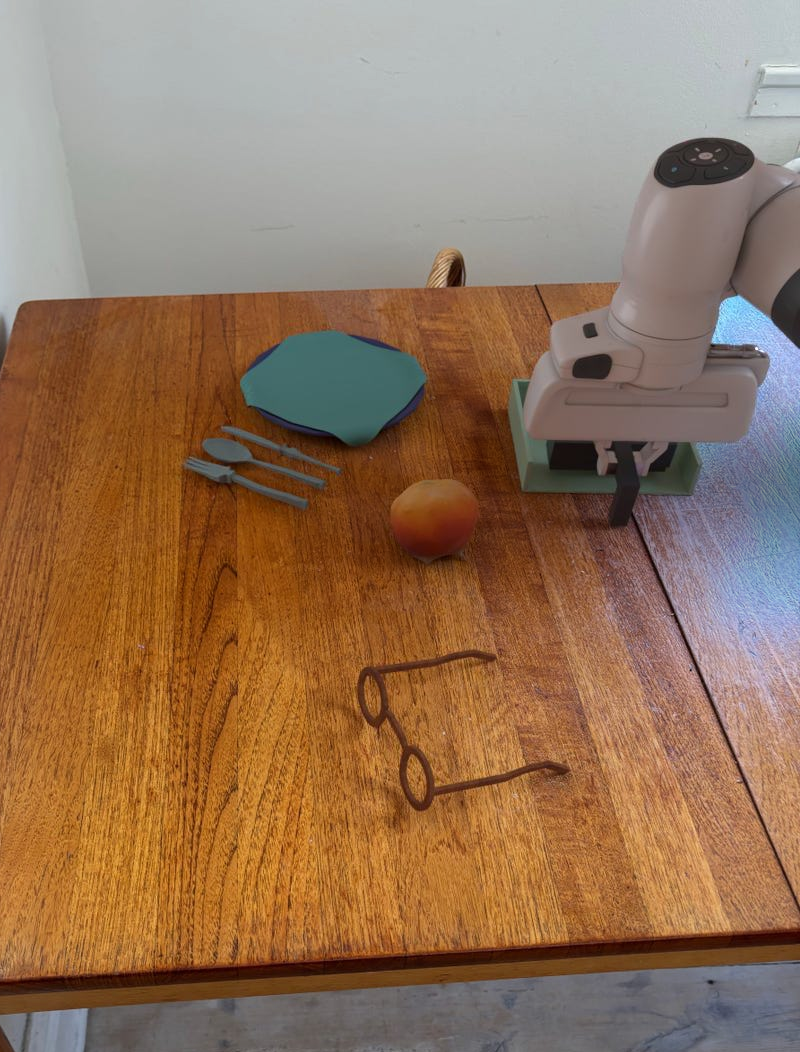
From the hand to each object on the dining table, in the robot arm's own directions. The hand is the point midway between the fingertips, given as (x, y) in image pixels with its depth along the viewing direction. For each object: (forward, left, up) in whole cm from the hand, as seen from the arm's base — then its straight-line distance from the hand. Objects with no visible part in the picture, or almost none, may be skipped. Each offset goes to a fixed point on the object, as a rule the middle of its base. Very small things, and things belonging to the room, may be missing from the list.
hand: (620, 472), depth 100 cm
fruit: (+18, +6, -4) cm, 20 cm away
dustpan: (0, -14, -4) cm, 14 cm away
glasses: (+17, +29, -4) cm, 34 cm away
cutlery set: (+30, -14, -4) cm, 33 cm away
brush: (0, -2, -3) cm, 4 cm away
